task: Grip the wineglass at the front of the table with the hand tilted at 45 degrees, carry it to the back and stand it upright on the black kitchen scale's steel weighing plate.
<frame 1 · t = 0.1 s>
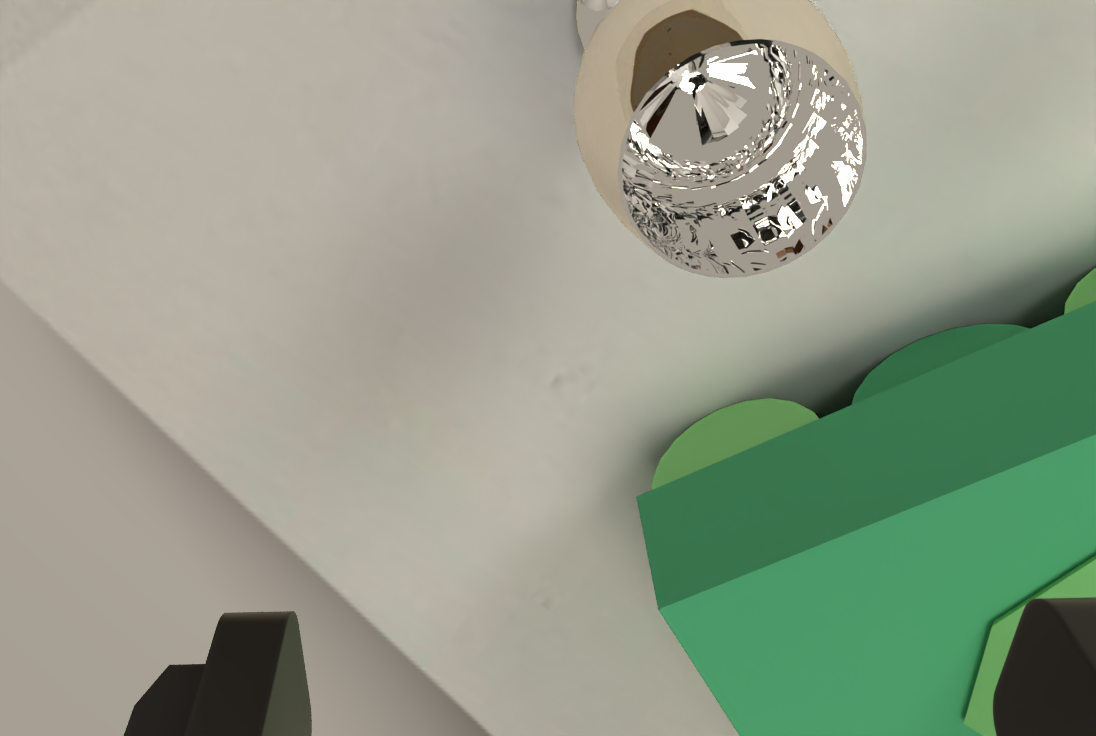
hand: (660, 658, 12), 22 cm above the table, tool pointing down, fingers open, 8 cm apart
wineglass: (653, 10, 30), on the table
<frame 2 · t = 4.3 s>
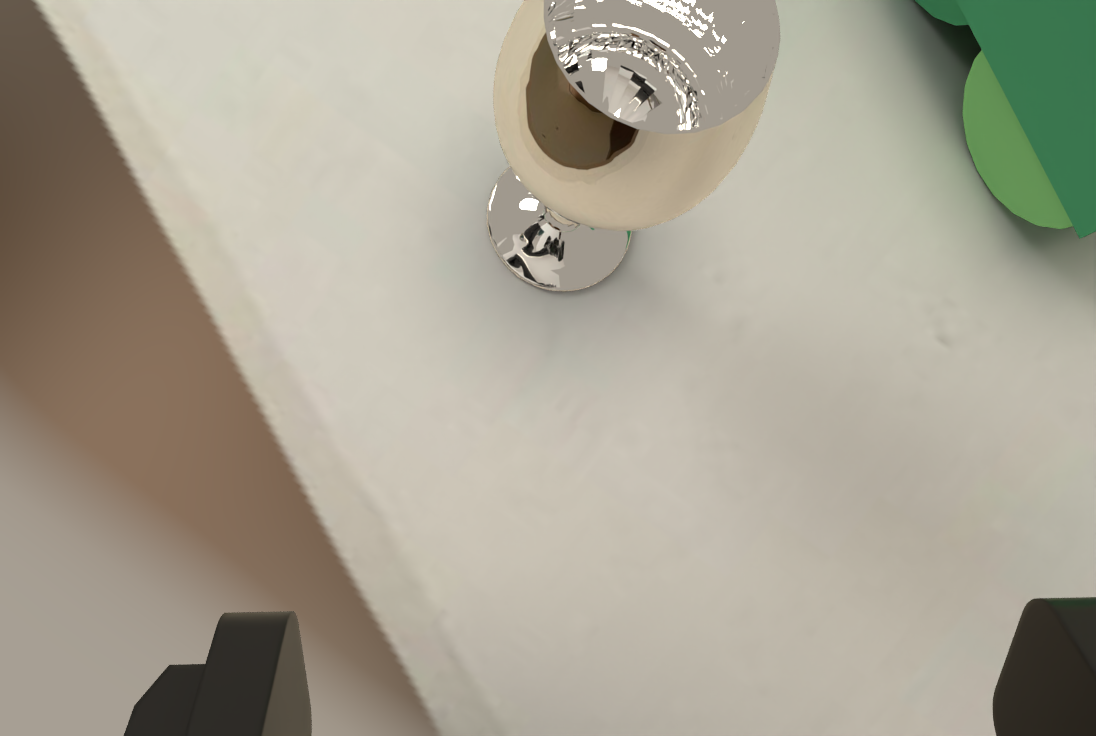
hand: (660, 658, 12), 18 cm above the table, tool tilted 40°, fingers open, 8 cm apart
wineglass: (558, 222, 32), on the table
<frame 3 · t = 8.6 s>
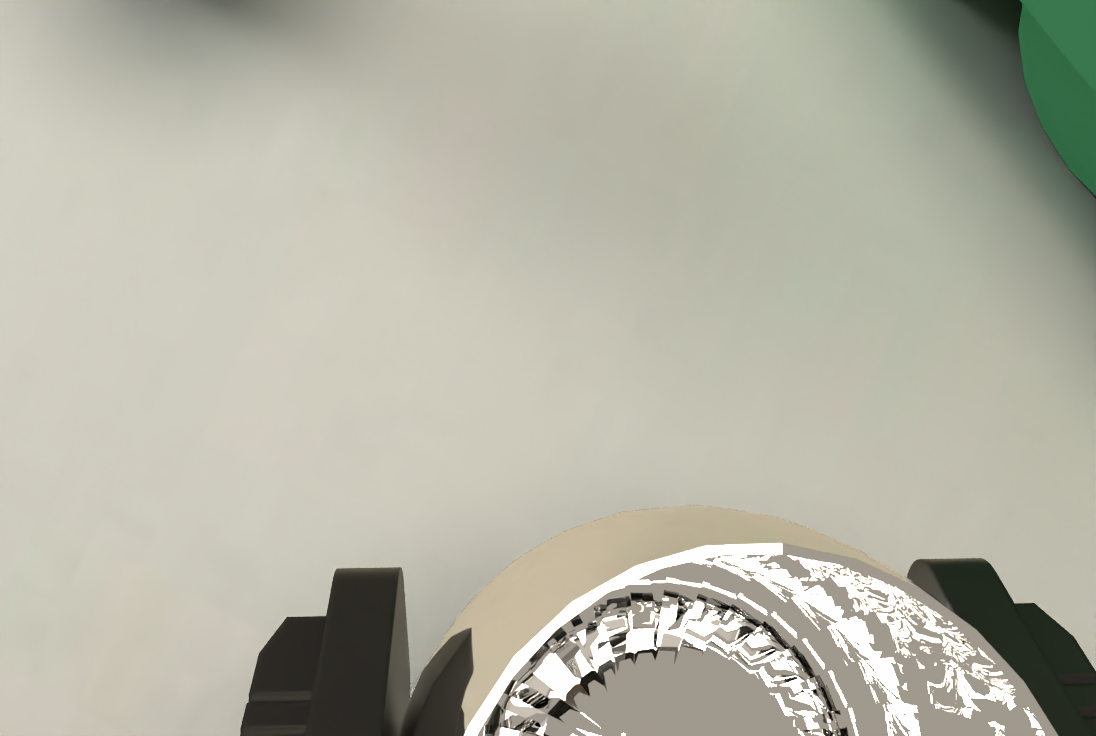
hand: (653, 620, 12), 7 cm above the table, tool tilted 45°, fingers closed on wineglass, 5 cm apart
wineglass: (597, 716, 19), on the table, touching gripper
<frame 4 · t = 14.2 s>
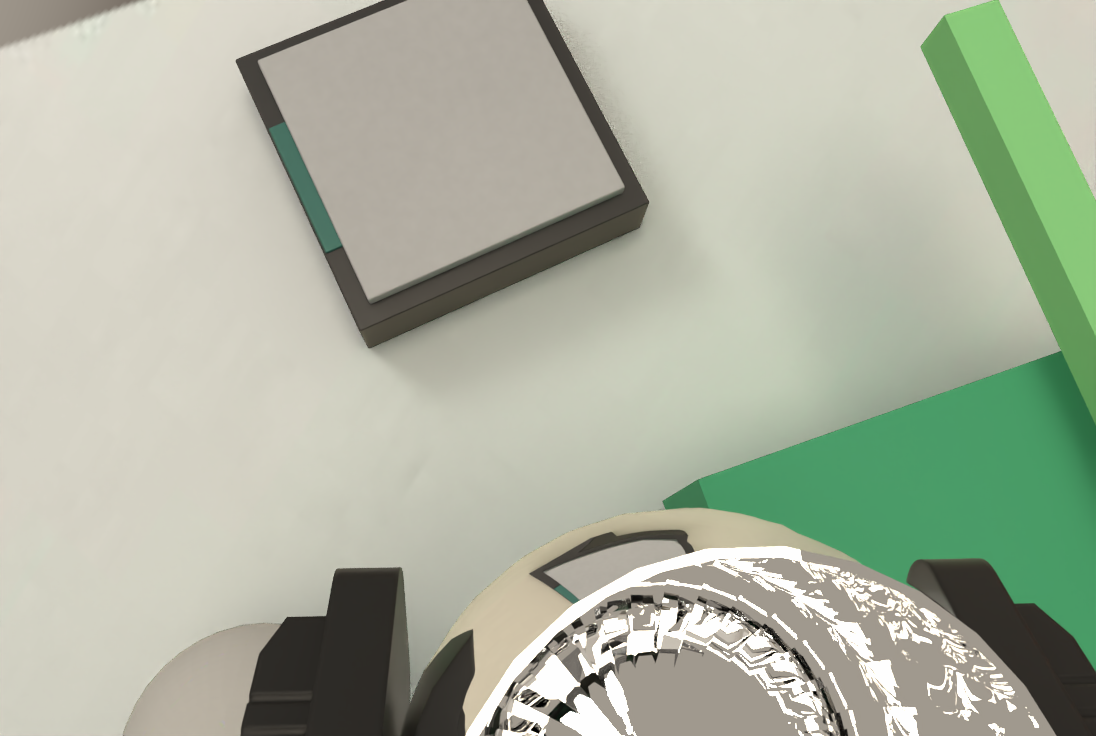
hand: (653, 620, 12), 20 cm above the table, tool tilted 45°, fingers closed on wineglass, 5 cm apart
toy tank: (1031, 720, 31), on the table
light bulb: (314, 721, 30), on the table
wineglass: (597, 717, 19), point 12 cm above the table, touching gripper
kitchen scale: (444, 159, 34), on the table
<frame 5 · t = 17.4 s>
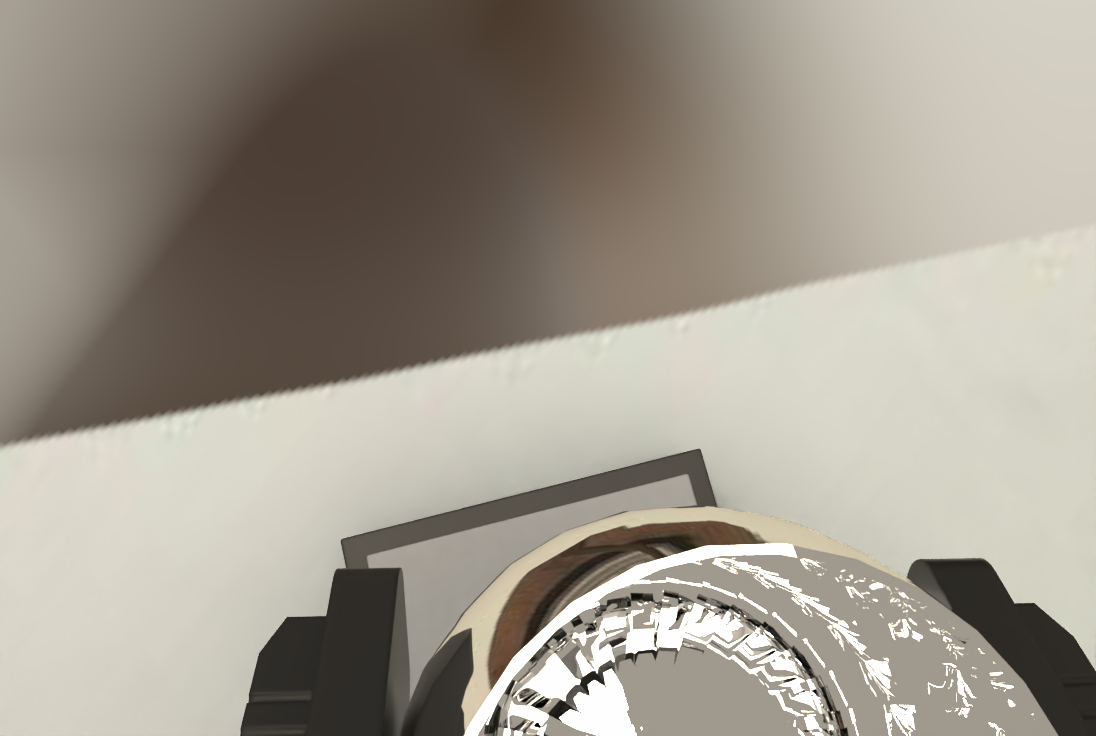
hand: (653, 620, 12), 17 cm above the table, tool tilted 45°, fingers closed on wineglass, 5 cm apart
wineglass: (597, 716, 19), point 9 cm above the table, touching gripper
kitchen scale: (565, 674, 28), on the table
when the fingers open (10 cm above the table, at t = 19.8 s): wineglass stays where it is, resting on kitchen scale.
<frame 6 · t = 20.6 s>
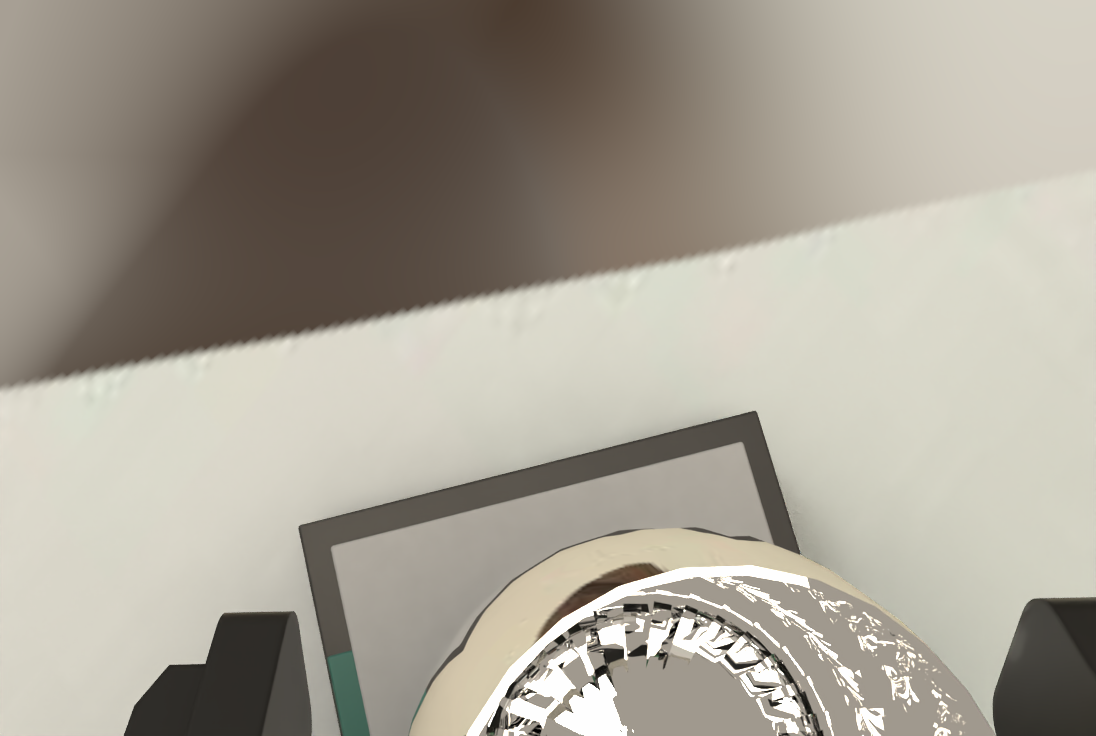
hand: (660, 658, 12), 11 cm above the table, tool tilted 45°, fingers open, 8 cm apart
wineglass: (595, 717, 20), point 3 cm above the table, touching kitchen scale
kitchen scale: (585, 697, 22), on the table
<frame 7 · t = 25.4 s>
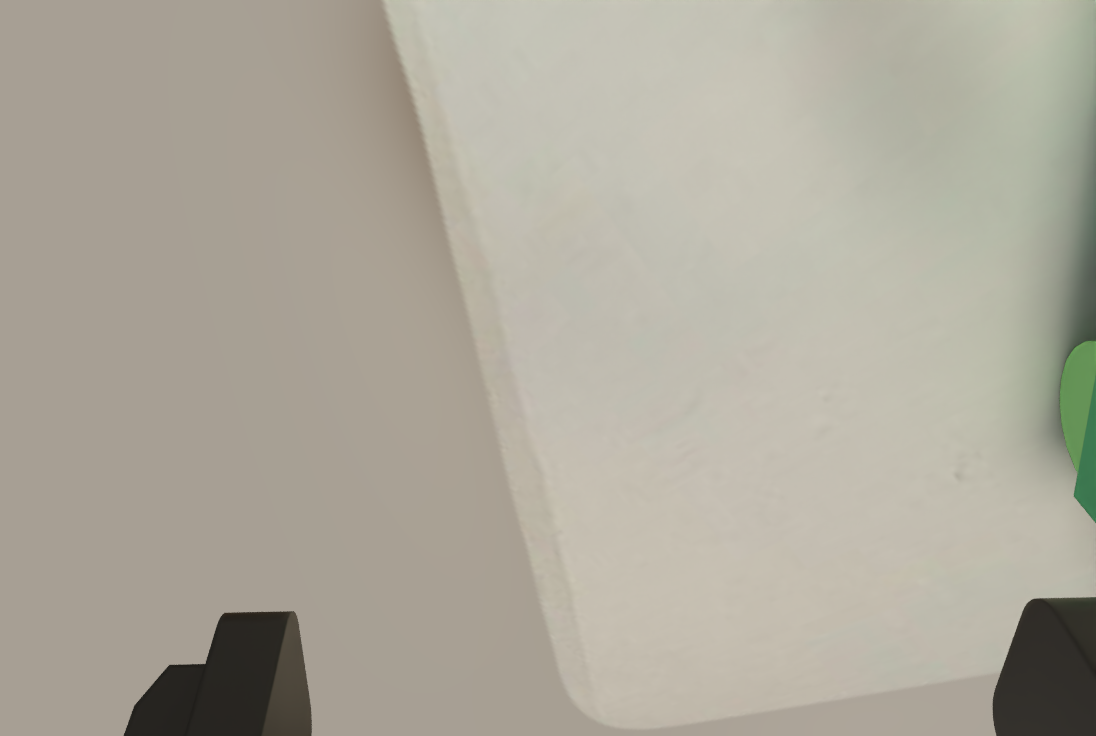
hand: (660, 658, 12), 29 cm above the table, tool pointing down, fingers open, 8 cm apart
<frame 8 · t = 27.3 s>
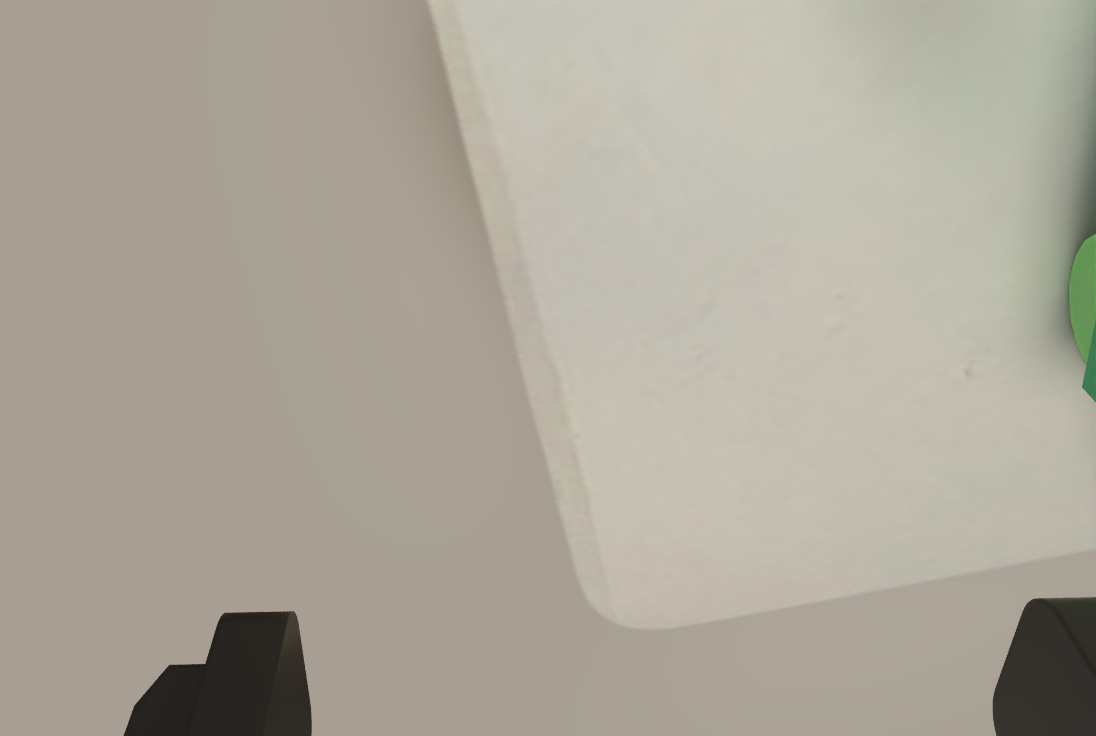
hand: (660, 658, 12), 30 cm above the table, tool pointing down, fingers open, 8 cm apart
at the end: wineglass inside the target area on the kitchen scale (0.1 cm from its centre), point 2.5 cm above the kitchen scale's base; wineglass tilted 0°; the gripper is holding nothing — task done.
